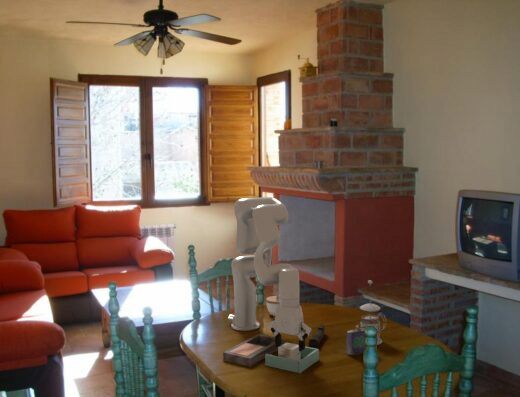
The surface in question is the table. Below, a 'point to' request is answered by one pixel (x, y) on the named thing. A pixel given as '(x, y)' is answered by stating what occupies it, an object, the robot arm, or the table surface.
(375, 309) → the french press
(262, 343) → the dark brown shallow tray
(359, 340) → the flask
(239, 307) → the robot arm
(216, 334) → the table surface
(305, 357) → the teal open tray
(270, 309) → the lidded jar
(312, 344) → the hand tool
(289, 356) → the cube
